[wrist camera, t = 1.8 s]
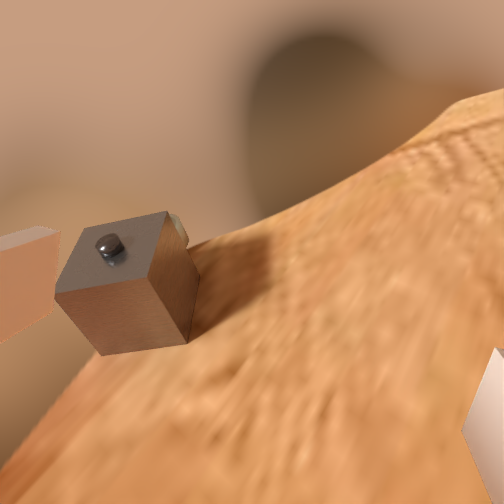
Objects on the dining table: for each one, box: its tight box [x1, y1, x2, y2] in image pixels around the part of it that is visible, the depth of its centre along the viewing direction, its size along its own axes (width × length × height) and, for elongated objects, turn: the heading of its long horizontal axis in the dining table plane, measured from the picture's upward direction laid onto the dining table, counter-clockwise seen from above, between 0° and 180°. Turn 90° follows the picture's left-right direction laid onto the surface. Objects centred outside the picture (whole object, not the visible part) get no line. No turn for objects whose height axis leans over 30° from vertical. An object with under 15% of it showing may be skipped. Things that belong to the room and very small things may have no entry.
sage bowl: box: [169, 214, 189, 247], centre depth 59 cm, size 6×6×4 cm
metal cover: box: [54, 211, 200, 356], centre depth 48 cm, size 10×10×11 cm
